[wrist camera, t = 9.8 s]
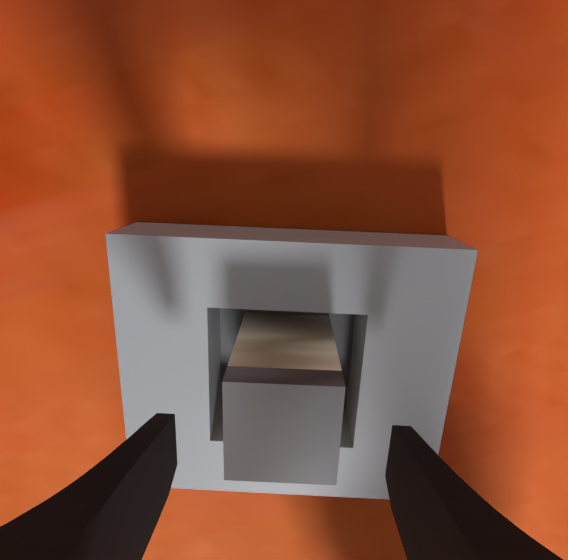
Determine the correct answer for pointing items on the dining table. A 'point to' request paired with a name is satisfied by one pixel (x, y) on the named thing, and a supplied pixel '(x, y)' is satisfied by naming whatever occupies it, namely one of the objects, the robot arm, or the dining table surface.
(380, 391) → the socket board
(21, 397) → the dining table surface
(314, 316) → the peg
